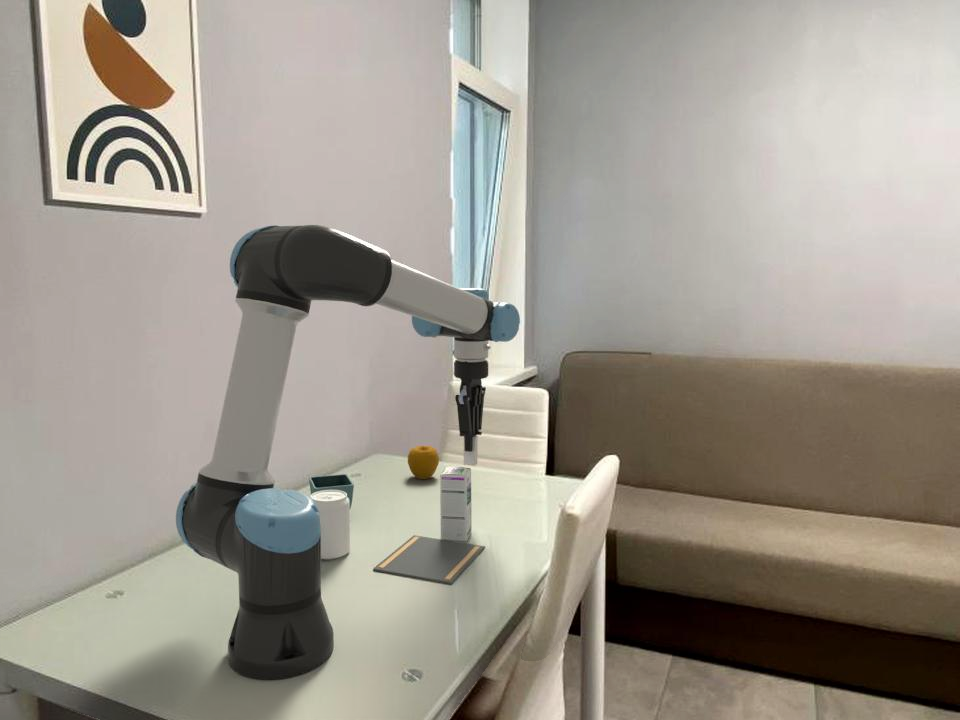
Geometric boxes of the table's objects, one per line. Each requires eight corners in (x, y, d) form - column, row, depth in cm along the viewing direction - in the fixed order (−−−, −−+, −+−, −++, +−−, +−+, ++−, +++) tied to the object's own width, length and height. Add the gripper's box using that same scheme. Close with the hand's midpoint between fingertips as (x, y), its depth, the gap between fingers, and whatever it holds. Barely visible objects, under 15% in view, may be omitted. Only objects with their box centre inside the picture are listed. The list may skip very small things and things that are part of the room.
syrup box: (467, 541, 148) (467, 474, 146) (439, 539, 149) (439, 473, 147) (471, 532, 154) (472, 467, 152) (445, 530, 155) (445, 465, 153)
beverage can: (340, 563, 137) (339, 503, 135) (301, 559, 138) (300, 500, 137) (356, 547, 145) (355, 490, 143) (319, 543, 146) (318, 487, 145)
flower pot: (355, 523, 158) (354, 484, 157) (315, 527, 155) (314, 488, 154) (347, 510, 166) (346, 473, 165) (309, 514, 163) (308, 477, 162)
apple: (427, 471, 199) (427, 440, 198) (445, 478, 193) (445, 446, 191) (401, 476, 194) (401, 444, 193) (419, 484, 187) (419, 451, 186)
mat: (451, 584, 128) (451, 581, 128) (373, 570, 134) (373, 567, 134) (484, 548, 145) (484, 545, 145) (413, 537, 150) (413, 534, 150)
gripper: (477, 364, 147) (476, 474, 150) (497, 356, 159) (495, 458, 162) (443, 362, 149) (443, 470, 153) (466, 354, 161) (465, 455, 165)
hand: (470, 464), depth 157 cm, fingers closed
